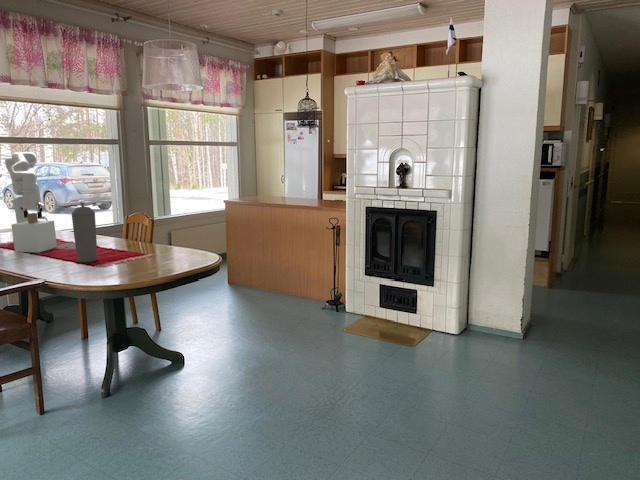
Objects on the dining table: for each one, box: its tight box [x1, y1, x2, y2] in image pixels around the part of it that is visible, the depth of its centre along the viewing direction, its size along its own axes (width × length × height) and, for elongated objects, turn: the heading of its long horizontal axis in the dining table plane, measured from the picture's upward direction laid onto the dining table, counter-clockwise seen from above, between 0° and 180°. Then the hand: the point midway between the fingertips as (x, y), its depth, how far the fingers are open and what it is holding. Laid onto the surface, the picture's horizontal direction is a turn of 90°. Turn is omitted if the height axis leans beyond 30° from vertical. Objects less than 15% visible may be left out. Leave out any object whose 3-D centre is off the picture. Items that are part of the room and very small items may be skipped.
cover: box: [11, 212, 58, 253], centre depth 316 cm, size 17×17×24 cm
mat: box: [53, 241, 76, 250], centre depth 330 cm, size 20×20×1 cm
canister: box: [70, 202, 98, 263], centre depth 285 cm, size 13×13×35 cm
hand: (33, 217), depth 314 cm, fingers open, 9 cm apart
